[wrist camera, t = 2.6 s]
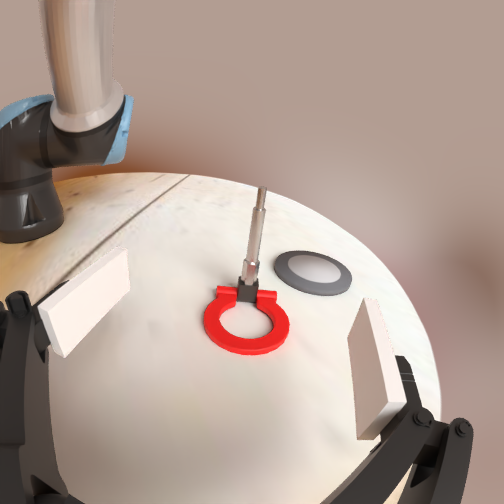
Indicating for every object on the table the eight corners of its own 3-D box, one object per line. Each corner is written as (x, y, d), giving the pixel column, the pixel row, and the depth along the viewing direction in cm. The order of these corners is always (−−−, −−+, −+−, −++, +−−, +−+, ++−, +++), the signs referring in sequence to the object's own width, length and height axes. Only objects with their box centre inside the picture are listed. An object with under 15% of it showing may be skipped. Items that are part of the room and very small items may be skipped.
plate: (267, 253, 42) (268, 248, 42) (331, 256, 45) (333, 251, 44) (286, 296, 33) (288, 289, 32) (363, 294, 35) (365, 289, 35)
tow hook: (292, 360, 24) (281, 299, 32) (332, 231, 18) (305, 191, 26) (198, 354, 23) (208, 292, 32) (203, 216, 17) (217, 180, 25)
